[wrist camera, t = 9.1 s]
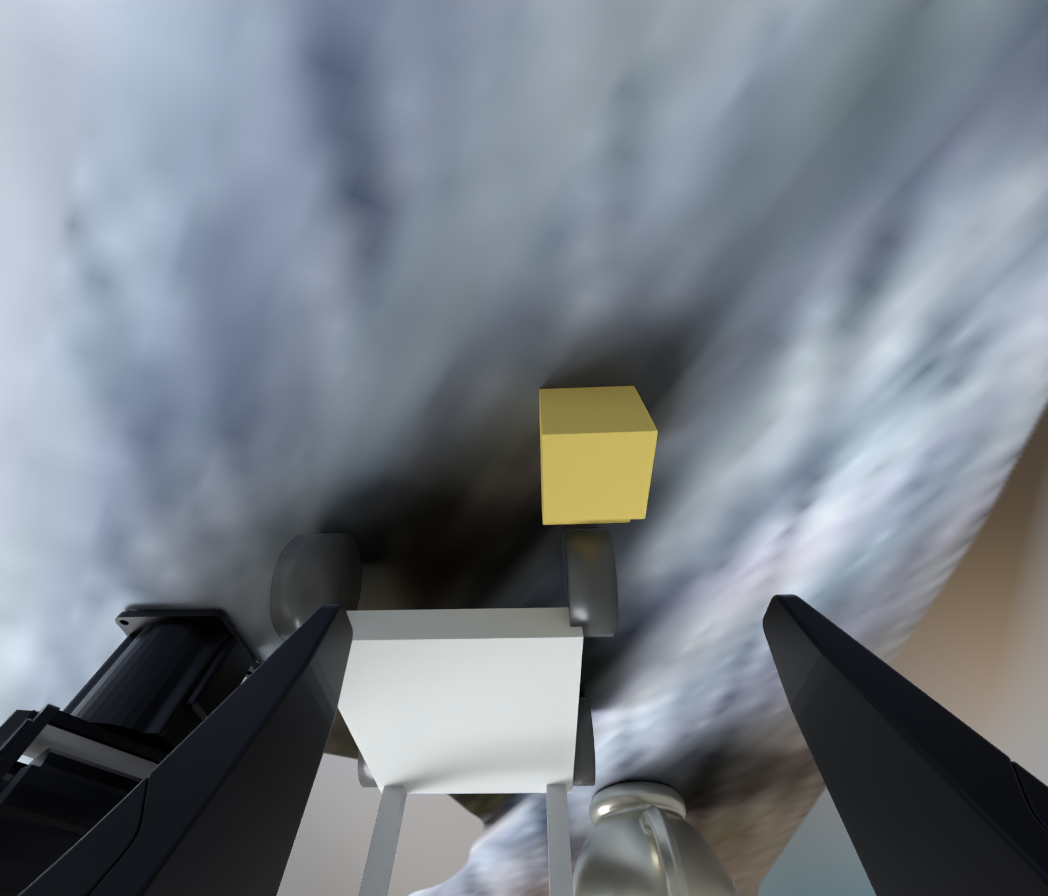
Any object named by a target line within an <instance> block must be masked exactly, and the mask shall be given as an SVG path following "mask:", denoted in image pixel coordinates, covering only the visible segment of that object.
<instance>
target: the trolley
mask: <svg viewBox="0 0 1048 896" xmlns="http://www.w3.org/2000/svg"><path fill="white" fill-rule="evenodd" d="M562 572H563V594H564V607H561V608H497V609H433V610H369V611H356V610H357V606H358V602H359V597H360V592H361V583H362V563H361V556H360V551H359V548H358V545H357V543H356V541H355V539H354V538H353V537H352V536H351V535H350V534H348V533H319V534H301V535H298V536H297V537H295V538H294V539H293V540H291V541H290V543H289V544H288V545H287V546H286V548H285V549H284V551H283V552H282V554H281V556H280V558H279V560H278V563H277V565H276V568H275V571H274V575H273V579H272V584H271V591H270V612H271V618H272V622H273V626H274V628H275V630H276V632H277V634H278V635H279V636H280V637H281V638H282V639H284V640H287V639H288V638H289V637H290V636H291V635H292V634H293V633H294V632H295V631H296V630H297V629H298V628H299V627H300V626H301V625H302V624H303V623H304V622H305V621H306V620H307V619H308V618H309V617H310V616H311V615H312V614H313V613H314V612H315V611H316V610H318V609H319V608H320V607H321V606H323V605H329V604H341V605H343V606H344V607H345V609H346V612H347V615H348V617H349V620H350V623H351V625H352V628H353V639H352V644H351V649H350V653H349V658H348V662H347V667H346V671H345V676H344V680H343V685H342V689H341V694H340V698H339V703H338V708H339V710H340V712H341V714H342V716H343V718H344V720H345V722H346V724H347V726H348V728H349V730H350V732H351V734H352V736H353V738H354V740H355V742H356V744H357V746H358V748H359V753H358V776H359V781H360V784H361V785H362V787H378V788H379V790H380V791H381V793H382V797H381V801H380V806H379V810H378V814H377V819H376V823H375V827H374V831H373V835H372V840H371V844H370V848H369V853H368V857H367V862H366V865H365V870H364V874H363V878H362V882H361V887H360V892H359V896H387V894H388V889H389V883H390V878H391V873H392V868H393V862H394V858H395V852H396V847H397V842H398V836H399V832H400V827H401V822H402V816H403V811H404V806H405V800H406V796H407V794H427V793H428V794H435V793H437V794H440V793H546V795H547V826H548V856H549V886H550V896H573V883H572V868H571V853H570V837H569V822H568V807H567V793H572V786H594V785H595V749H594V736H593V726H592V717H591V710H590V705H589V700H588V697H579V690H580V676H581V662H582V649H583V637H613V636H614V635H615V632H616V627H617V615H618V594H617V578H616V568H615V560H614V554H613V548H612V543H611V539H610V536H609V533H608V531H607V529H606V528H579V529H564V530H563V539H562Z"/></svg>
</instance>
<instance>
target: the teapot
mask: <svg viewBox="0 0 1048 896" xmlns="http://www.w3.org/2000/svg"><path fill="white" fill-rule="evenodd" d="M589 813H590V818H591V820H592V823H593V824H594V826H595V827H594V829H593V830H592V831H591V833H590V834H589V836H588V837H587V839H586V840H585V842H584V844H583V846H582V848H581V850H580V853H579V855H578V858H577V861H576V864H575V868H574V872H573V877H572V883H573V896H739V894H738V891H737V889H736V886H735V884H734V882H733V880H732V878H731V876H730V874H729V872H728V870H727V868H726V866H725V865H724V863H723V862H722V860H721V858H720V857H719V855H718V854H717V853H716V851H715V850H714V849H713V847H712V846H711V845H710V844H709V842H708V841H707V840H706V839H705V838H704V837H703V836H702V835H701V834H700V833H699V832H698V831H697V830H696V829H695V828H694V827H693V826H691V825H690V824H689V823H688V822H686V821H685V816H686V807H685V803H684V801H683V799H682V797H681V796H680V795H679V794H678V793H677V792H676V791H675V790H674V789H672V788H670V787H668V786H666V785H663V784H659V783H654V782H643V781H637V782H626V783H620V784H616V785H613V786H610V787H607V788H605V789H603V790H601V791H600V792H598V793H597V794H596V795H595V796H594V798H593V799H592V801H591V803H590V808H589Z"/></svg>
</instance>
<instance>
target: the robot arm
mask: <svg viewBox="0 0 1048 896" xmlns="http://www.w3.org/2000/svg"><path fill="white" fill-rule="evenodd" d="M115 621H116V623H117V624H118V625H119V627H120V628H121V629H122V630H123V631H124V632H125V633H126V635H127V636H128V637H127V638H126V639H125V640H124V641H123V642H122V644H121V645H120V646H119V647H118V648H117V649H116V651H115V652H114V653H113V654H112V655H111V656H110V657H109V659H108V660H107V661H106V662H105V663H104V664H103V665H102V667H101V668H100V669H99V670H98V671H97V672H96V673H95V675H94V676H93V677H92V678H91V679H90V680H89V681H88V683H87V684H86V685H85V686H84V687H83V688H82V690H81V691H80V692H79V693H78V694H77V695H76V696H75V698H74V699H73V700H72V701H71V702H70V703H69V704H68V706H67V707H66V708H65V709H64V710H63V711H60V710H59V709H60V708H59V707H56V706H54V705H51V704H47V705H46V706H45V707H44V708H42V709H41V710H40V711H39V712H37V711H35V710H33V711H27V710H16V711H15V712H14V713H13V714H11V716H10V717H9V718H8V719H7V720H6V721H5V722H4V723H3V724H2V725H1V726H0V896H276V895H277V892H278V889H279V886H280V882H281V880H282V877H283V874H284V870H285V868H286V865H287V862H288V858H289V856H290V853H291V849H292V846H293V843H294V840H295V837H296V834H297V831H298V828H299V825H300V822H301V819H302V816H303V813H304V810H305V807H306V804H307V801H308V798H309V795H310V792H311V789H312V786H313V782H314V780H315V777H316V774H317V771H318V768H319V765H320V761H321V758H322V755H323V752H324V749H325V746H326V743H327V740H328V737H329V734H330V731H331V728H332V725H333V722H334V718H335V715H336V711H337V707H338V703H339V698H340V694H341V689H342V685H343V680H344V676H345V671H346V667H347V662H348V658H349V653H350V649H351V644H352V639H353V628H352V625H351V623H350V620H349V617H348V615H347V612H346V609H345V607H344V606H343V605H341V604H329V605H323V606H321V607H320V608H319V609H318V610H316V611H315V612H314V613H313V614H312V615H311V616H310V617H309V618H308V619H307V620H306V621H305V622H304V623H303V624H302V625H301V626H300V627H299V628H298V629H297V630H296V631H295V632H294V633H293V634H292V635H291V636H290V637H289V638H288V639H287V640H286V641H285V642H284V643H283V644H282V645H281V646H280V647H279V648H278V649H277V650H276V651H274V652H273V653H272V654H271V655H270V656H269V657H268V658H267V659H266V660H265V661H264V662H263V663H262V664H261V665H260V666H258V664H257V662H256V661H255V659H254V658H253V656H252V655H251V653H250V651H249V650H248V648H247V647H246V645H245V643H244V642H243V640H242V639H241V637H240V636H239V634H238V632H237V631H236V629H235V628H234V626H233V624H232V623H231V621H230V620H229V618H228V617H227V615H226V614H225V613H224V612H222V611H219V610H187V611H125V612H122V613H120V614H119V616H118V617H117V618H116V619H115ZM763 630H764V633H765V636H766V639H767V642H768V645H769V647H770V650H771V653H772V656H773V659H774V662H775V665H776V668H777V671H778V674H779V676H780V679H781V682H782V685H783V688H784V691H785V694H786V696H787V699H788V702H789V704H790V707H791V709H792V712H793V714H794V716H795V719H796V721H797V723H798V725H799V727H800V729H801V732H802V734H803V736H804V738H805V740H806V743H807V745H808V747H809V749H810V751H811V754H812V756H813V758H814V760H815V762H816V764H817V767H818V769H819V771H820V773H821V775H822V778H823V780H824V782H825V784H826V786H827V788H828V791H829V793H830V795H831V797H832V799H833V802H834V804H835V806H836V808H837V810H838V812H839V814H840V817H841V819H842V821H843V823H844V825H845V828H846V829H847V832H848V834H849V836H850V839H851V841H852V843H853V845H854V847H855V849H856V852H857V854H858V856H859V858H860V861H861V863H862V865H863V867H864V869H865V871H866V873H867V876H868V878H869V880H870V882H871V885H872V887H873V889H874V891H875V893H876V895H877V896H1048V786H1046V785H1045V784H1044V783H1043V782H1041V781H1040V780H1039V779H1037V778H1036V777H1035V776H1033V775H1032V774H1031V773H1029V772H1028V771H1027V770H1025V769H1024V768H1023V767H1021V766H1020V765H1019V764H1018V763H1016V762H1014V761H1011V760H1010V758H1009V757H1008V756H1007V755H1005V754H1004V753H1003V752H1002V751H1000V750H999V749H998V748H996V747H995V746H994V745H992V744H991V743H990V742H988V741H987V740H986V739H985V738H983V737H982V736H981V735H979V734H978V733H977V732H975V731H974V730H972V729H971V728H970V727H969V726H967V725H966V724H965V723H963V722H962V721H961V720H960V719H958V718H957V717H956V716H954V715H953V714H952V713H950V712H949V711H948V710H947V709H945V708H944V707H942V706H941V705H940V704H939V703H937V702H936V701H935V700H933V699H932V698H931V697H929V696H928V695H927V694H925V693H924V692H923V691H922V690H920V689H919V688H918V687H916V686H915V685H914V684H912V683H911V682H910V681H908V680H907V679H906V678H905V677H903V676H902V675H900V674H899V673H898V672H897V671H895V670H894V669H893V668H891V667H890V666H889V665H888V664H886V663H885V662H884V661H882V660H881V659H880V658H878V657H877V656H876V655H874V654H873V653H872V652H870V651H869V650H868V649H867V648H865V647H864V646H863V645H861V644H860V643H859V642H857V641H856V640H855V639H853V638H852V637H851V636H849V635H848V634H847V633H846V632H844V631H843V630H842V629H840V628H839V627H838V626H836V625H835V624H834V623H832V622H831V621H830V620H829V619H827V618H826V617H825V616H823V615H822V614H821V613H819V612H818V611H817V610H815V609H814V608H813V607H811V606H810V605H809V604H808V603H806V602H805V601H804V600H802V599H801V598H799V597H798V596H796V595H791V594H787V595H775V596H773V597H772V599H771V601H770V604H769V606H768V608H767V611H766V613H765V615H764V618H763ZM244 677H248V678H247V679H246V680H245V681H244V682H243V683H242V681H243V679H244ZM241 683H242V684H241ZM240 684H241V685H240ZM21 755H25V756H28V757H31V758H34V760H33V761H32V762H31V763H30V764H29V765H27V764H24V763H20V762H17V760H18V759H19V758H20V757H21Z"/></svg>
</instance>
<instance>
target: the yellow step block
mask: <svg viewBox="0 0 1048 896" xmlns="http://www.w3.org/2000/svg"><path fill="white" fill-rule="evenodd" d="M539 404H540V449H541V495H542V517H543V525H555V524H592V523H629V522H630V519H645V516H646V509H647V502H648V495H649V489H650V482H651V475H652V468H653V461H654V455H655V448H656V441H657V434H658V430H657V428H656V426H655V424H654V423H653V421H652V419H651V417H650V415H649V413H648V411H647V409H646V407H645V405H644V404H643V402H642V400H641V398H640V396H639V394H638V392H637V390H636V388H635V387H634V386H613V387H583V388H554V389H539Z"/></svg>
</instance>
